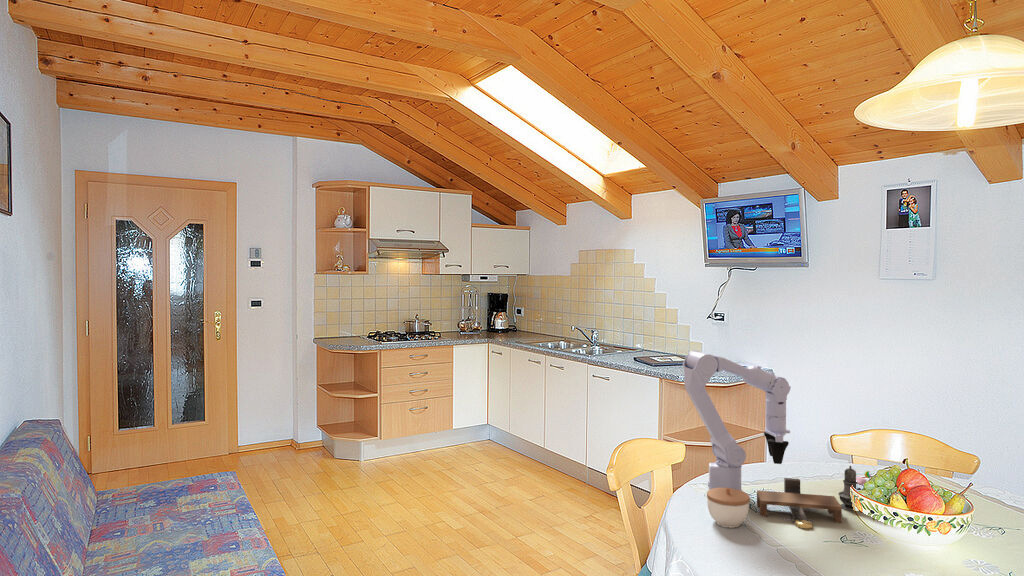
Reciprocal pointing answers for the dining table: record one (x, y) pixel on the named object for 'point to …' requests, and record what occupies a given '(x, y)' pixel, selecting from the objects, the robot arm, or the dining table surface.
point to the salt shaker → (848, 489)
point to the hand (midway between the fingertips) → (775, 459)
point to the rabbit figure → (862, 480)
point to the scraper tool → (794, 487)
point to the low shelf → (799, 502)
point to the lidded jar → (728, 506)
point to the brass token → (804, 524)
